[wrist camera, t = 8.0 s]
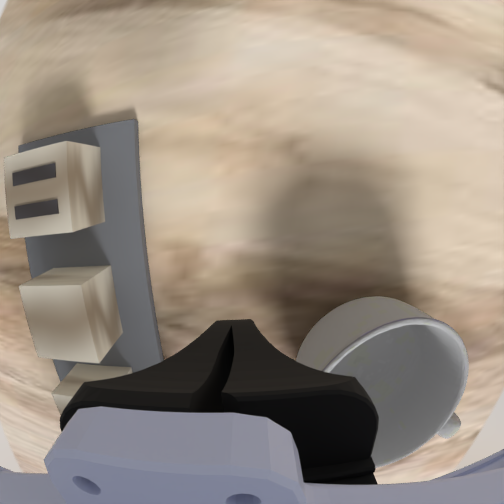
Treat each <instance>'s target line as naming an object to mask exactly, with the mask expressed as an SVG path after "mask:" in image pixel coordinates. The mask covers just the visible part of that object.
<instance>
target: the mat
mask: <svg viewBox="0 0 504 504" xmlns="http://www.w3.org/2000/svg"><path fill="white" fill-rule="evenodd" d="M63 141H71V142H76V143H81V144H86V145H91V146H96V147H100V153H101V174H102V190H103V202H104V213H105V222H103V223H100V224H96V225H93V226H90V227H87V228H84V229H81V230H78V231H75V232H70V233H60V234H50V235H41V236H32V237H25V242H26V249H27V255H28V261H29V267H30V272H31V277H32V279H33V278H35V277H37V276H39V275H41V274H43V273H45V272H47V271H49V270H51V269H53V268H65V267H86V266H107V265H111V269H112V275H113V282H114V288H115V294H116V299H117V305H118V310H119V315H120V320H121V325H122V330H123V333H122V334H121V336H120V337H119V338H118V340H117V341H116V342H115V343H114V345H113V346H112V347H111V349H110V350H109V351H108V353H107V354H106V355H105V357H104V358H103V359H102V361H101V362H100V363H88V362H77V361H67V360H57V359H53V362H54V365H55V368H56V370H57V373H58V376H59V379H60V382H61V381H62V380H63V379H64V378H65V377H66V375H67V374H68V373H69V372H70V371H71V370H72V368H73V367H74V366H75V365H76V364H77V363H78V364H89V365H102V366H118V367H131V368H132V372H133V373H134V372H137V371H140V370H143V369H145V368H148V367H150V366H153V365H155V364H158V363H160V362H162V361H164V358H163V353H162V348H161V343H160V337H159V332H158V326H157V320H156V314H155V307H154V301H153V294H152V287H151V280H150V273H149V265H148V257H147V248H146V239H145V229H144V219H143V207H142V195H141V180H140V163H139V139H138V121H137V120H135V119H131V120H126V121H120V122H114V123H109V124H104V125H99V126H94V127H90V128H85V129H81V130H76V131H72V132H68V133H64V134H60V135H56V136H52V137H48V138H44V139H41V140H37V141H33V142H30V143H27V144H23V145H20V146H19V153H21V152H25V151H28V150H32V149H36V148H39V147H43V146H47V145H51V144H55V143H59V142H63Z"/></svg>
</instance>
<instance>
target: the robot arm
mask: <svg viewBox="0 0 504 504" xmlns="http://www.w3.org/2000/svg"><path fill="white" fill-rule="evenodd" d="M378 424H379V416H378V413H377V410H376V408H375V406H374V404H373V402H372V400H371V398H370V396H369V395H368V394H367V392H366V391H365V389H364V388H363V387H362V385H361V384H360V383H359V382H358V380H357V379H356V377H352V376H345V375H338V374H332V373H327V372H324V371H320V370H317V369H314V368H311V367H308V366H306V365H303V364H301V363H299V362H297V361H295V360H293V359H291V358H289V357H288V356H286V355H284V354H283V353H281V352H280V351H278V350H277V349H276V348H275V347H274V346H273V345H272V344H271V343H269V342H268V340H267V339H266V338H265V337H264V336H263V335H262V334H261V333H260V331H259V330H258V329H257V327H256V326H255V324H254V322H253V321H252V320H251V319H245V320H222V321H216V322H215V323H213V324H212V325H211V326H210V327H209V328H208V329H207V330H206V331H205V332H204V333H203V334H201V335H200V336H199V337H198V338H197V339H196V340H194V341H193V342H192V343H190V344H189V345H188V346H186V347H185V348H184V349H182V350H181V351H180V352H178V353H176V354H175V355H173V356H171V357H169V358H168V359H166V360H164V361H162V362H160V363H158V364H155V365H153V366H150V367H148V368H145V369H143V370H140V371H137V372H134V373H131V374H127V375H123V376H119V377H115V378H110V379H103V380H96V381H89V382H84V383H83V384H82V385H81V387H80V388H79V389H78V391H77V392H76V393H75V395H74V396H73V397H72V399H71V400H70V401H69V403H68V404H67V406H66V407H65V408H64V410H63V412H62V414H61V417H60V428H61V431H62V432H61V434H60V435H59V437H58V438H57V440H56V441H55V443H54V445H53V446H52V448H51V449H50V451H49V452H48V454H47V455H46V457H45V459H44V462H45V465H46V468H47V471H48V474H42V473H18V472H13V471H10V470H8V469H6V468H3V467H1V466H0V504H504V449H503V450H501V451H499V452H497V453H495V454H493V455H491V456H489V457H486V458H485V459H482V460H480V461H478V462H476V463H473V464H471V465H469V466H467V467H464V468H462V469H459V470H456V471H454V472H451V473H449V474H446V475H444V476H441V477H438V478H435V479H433V480H430V481H423V482H412V483H399V484H377V482H376V479H375V477H374V474H373V472H375V464H374V462H373V459H372V457H371V455H372V451H373V447H374V443H375V439H376V435H377V431H378Z"/></svg>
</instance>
